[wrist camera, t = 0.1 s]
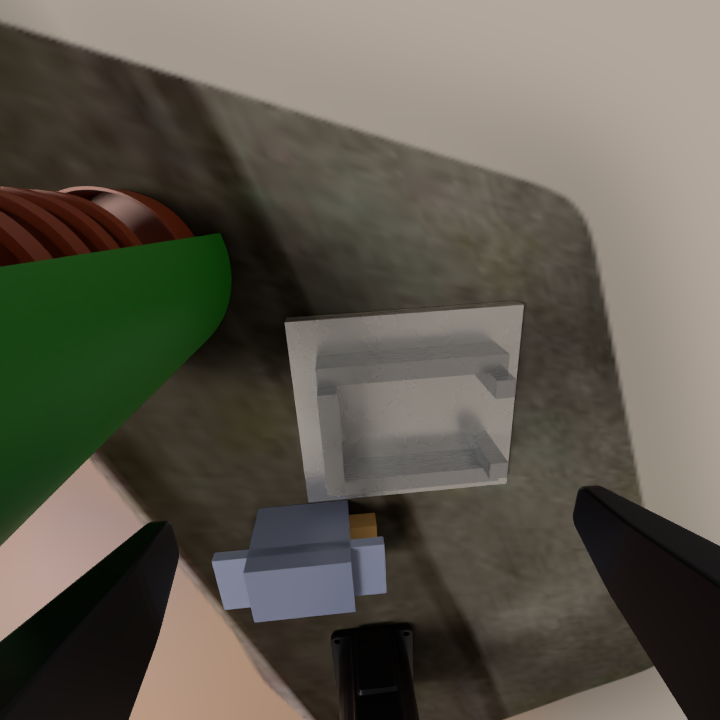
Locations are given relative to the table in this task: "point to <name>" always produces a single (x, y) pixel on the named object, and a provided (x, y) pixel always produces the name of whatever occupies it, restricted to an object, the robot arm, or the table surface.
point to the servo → (303, 562)
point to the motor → (91, 325)
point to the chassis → (405, 398)
